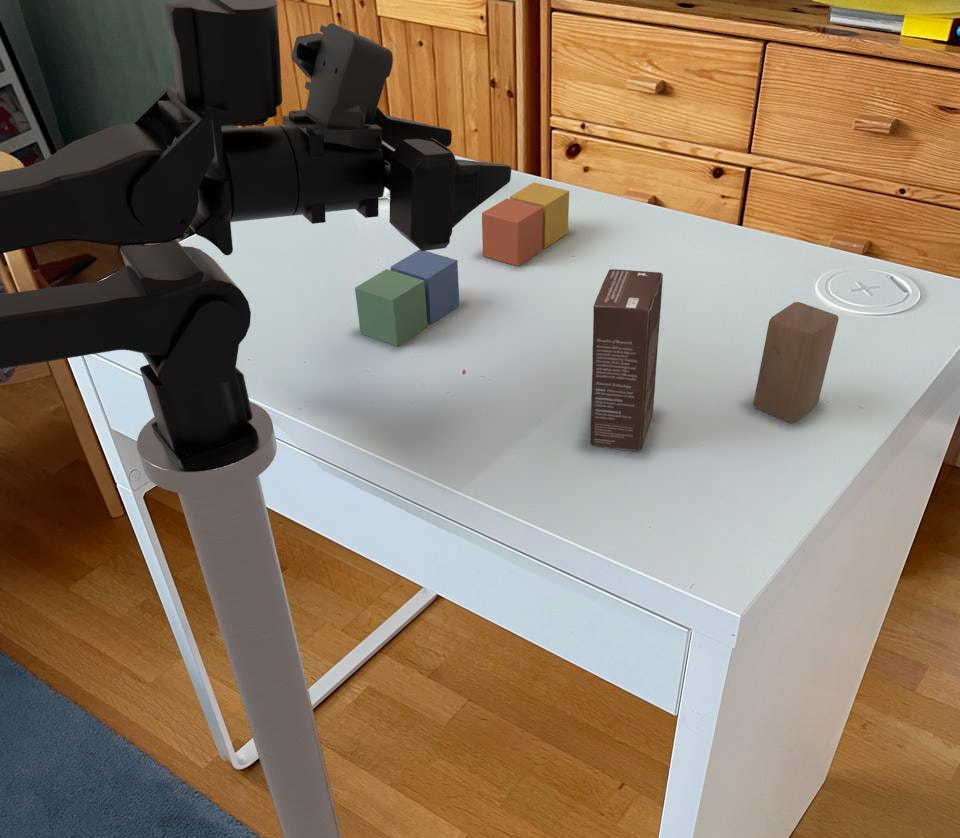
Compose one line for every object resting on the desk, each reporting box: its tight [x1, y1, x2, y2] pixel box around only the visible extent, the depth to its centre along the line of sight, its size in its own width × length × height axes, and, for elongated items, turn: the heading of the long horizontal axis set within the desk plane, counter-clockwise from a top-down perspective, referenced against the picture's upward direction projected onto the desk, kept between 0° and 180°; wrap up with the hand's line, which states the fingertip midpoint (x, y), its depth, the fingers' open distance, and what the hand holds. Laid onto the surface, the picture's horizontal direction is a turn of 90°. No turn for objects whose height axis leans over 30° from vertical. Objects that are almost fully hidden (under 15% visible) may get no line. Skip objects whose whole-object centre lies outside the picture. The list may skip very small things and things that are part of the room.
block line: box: [354, 181, 570, 347], centre depth 97 cm, size 29×4×4 cm, turn 144°
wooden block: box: [752, 301, 840, 424], centre depth 78 cm, size 4×4×8 cm
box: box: [589, 268, 664, 452], centre depth 75 cm, size 6×4×12 cm
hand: (479, 154), depth 75 cm, fingers open, 9 cm apart
